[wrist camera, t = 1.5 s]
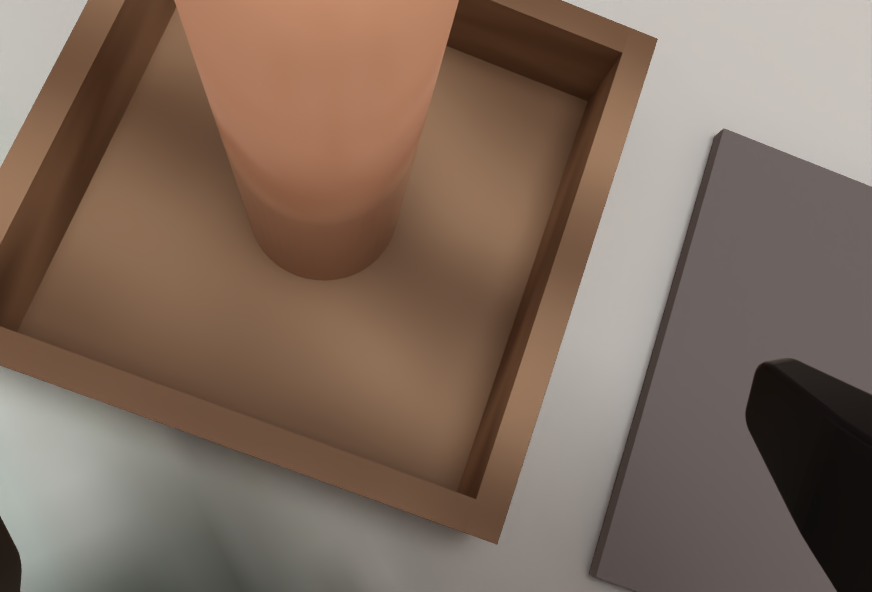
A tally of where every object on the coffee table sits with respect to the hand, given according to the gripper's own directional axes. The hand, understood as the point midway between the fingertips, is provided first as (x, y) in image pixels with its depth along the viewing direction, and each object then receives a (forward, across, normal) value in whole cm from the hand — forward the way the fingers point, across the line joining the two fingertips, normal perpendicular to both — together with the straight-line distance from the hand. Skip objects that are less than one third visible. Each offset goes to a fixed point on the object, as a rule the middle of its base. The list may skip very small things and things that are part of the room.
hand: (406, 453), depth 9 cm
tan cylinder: (+14, 0, +4) cm, 14 cm away
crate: (+14, 0, +4) cm, 15 cm away
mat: (+8, -14, +10) cm, 19 cm away
